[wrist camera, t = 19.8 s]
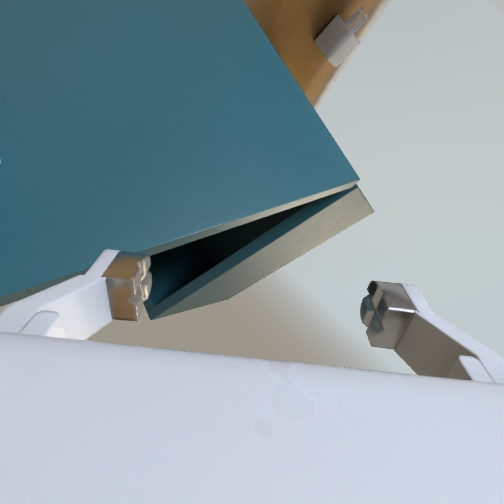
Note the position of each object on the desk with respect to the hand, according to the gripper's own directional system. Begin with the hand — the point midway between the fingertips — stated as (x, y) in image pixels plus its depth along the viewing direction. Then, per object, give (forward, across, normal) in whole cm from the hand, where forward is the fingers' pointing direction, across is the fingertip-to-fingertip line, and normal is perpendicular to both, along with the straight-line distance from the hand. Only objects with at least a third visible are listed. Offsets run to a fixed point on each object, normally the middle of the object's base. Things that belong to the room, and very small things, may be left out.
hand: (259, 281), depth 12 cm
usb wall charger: (+48, -9, -12) cm, 50 cm away
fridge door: (+23, +16, -14) cm, 32 cm away
